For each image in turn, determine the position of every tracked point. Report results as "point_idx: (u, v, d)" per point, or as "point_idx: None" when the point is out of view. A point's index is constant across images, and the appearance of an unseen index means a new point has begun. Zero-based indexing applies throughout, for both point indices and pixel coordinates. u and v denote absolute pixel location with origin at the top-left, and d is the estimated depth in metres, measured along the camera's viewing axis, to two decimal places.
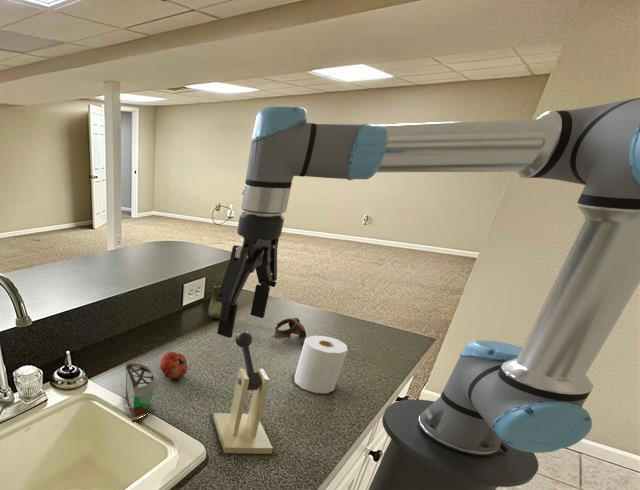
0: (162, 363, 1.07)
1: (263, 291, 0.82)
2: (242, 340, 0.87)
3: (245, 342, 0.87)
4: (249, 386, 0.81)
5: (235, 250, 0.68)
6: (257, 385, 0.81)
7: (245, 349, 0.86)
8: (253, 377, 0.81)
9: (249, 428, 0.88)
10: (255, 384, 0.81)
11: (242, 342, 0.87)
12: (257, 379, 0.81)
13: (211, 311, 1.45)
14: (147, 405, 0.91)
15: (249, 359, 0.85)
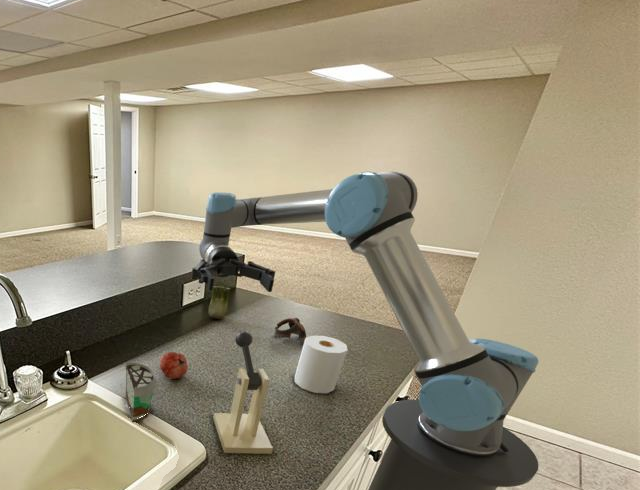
0: (162, 363, 1.07)
1: (262, 276, 0.96)
2: (242, 340, 0.87)
3: (245, 342, 0.87)
4: (249, 386, 0.81)
5: None
6: (257, 385, 0.81)
7: (245, 349, 0.86)
8: (253, 377, 0.81)
9: (249, 428, 0.88)
10: (255, 384, 0.81)
11: (242, 342, 0.87)
12: (257, 379, 0.81)
13: (211, 311, 1.45)
14: (147, 405, 0.91)
15: (249, 359, 0.85)
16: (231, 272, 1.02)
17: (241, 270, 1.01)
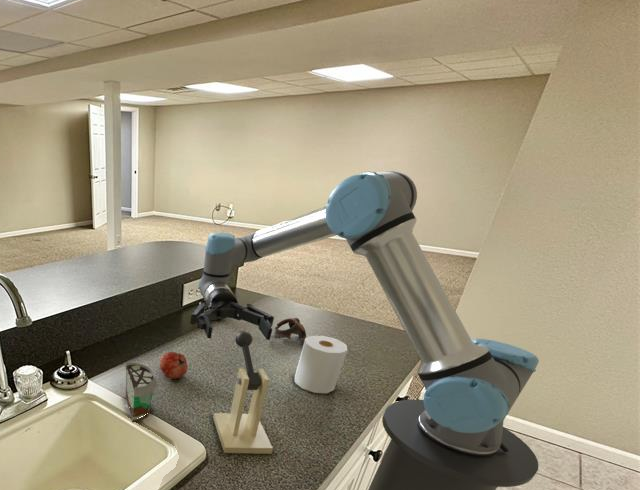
0: (162, 363, 1.07)
1: (261, 322, 0.96)
2: (242, 340, 0.87)
3: (245, 342, 0.87)
4: (249, 386, 0.81)
5: None
6: (257, 385, 0.81)
7: (245, 349, 0.86)
8: (253, 377, 0.81)
9: (249, 428, 0.88)
10: (255, 384, 0.81)
11: (242, 342, 0.87)
12: (257, 379, 0.81)
13: None
14: (147, 405, 0.91)
15: (249, 359, 0.85)
16: (230, 316, 1.02)
17: (240, 314, 1.02)
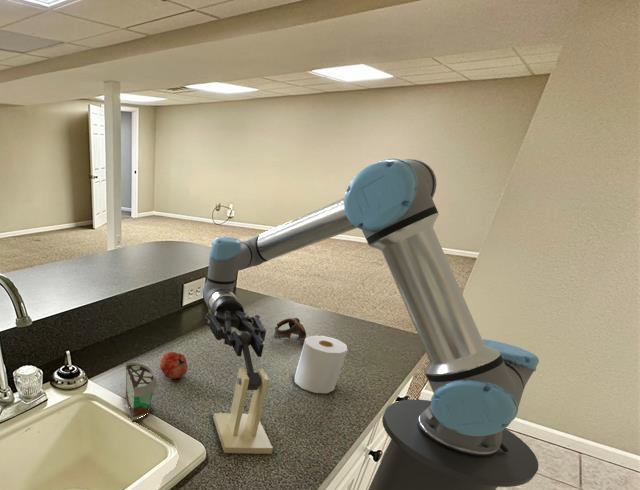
0: (162, 363, 1.07)
1: (252, 337, 0.88)
2: (242, 340, 0.87)
3: (245, 342, 0.87)
4: (249, 386, 0.81)
5: (205, 321, 0.98)
6: (257, 385, 0.81)
7: (245, 349, 0.86)
8: (253, 377, 0.81)
9: (249, 428, 0.88)
10: (255, 384, 0.81)
11: (242, 342, 0.87)
12: (257, 379, 0.81)
13: None
14: (147, 405, 0.91)
15: (249, 359, 0.85)
16: (236, 325, 0.96)
17: (240, 324, 0.95)
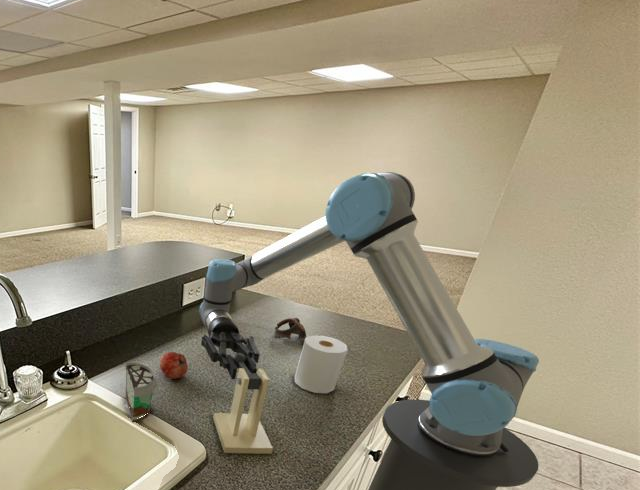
0: (162, 363, 1.07)
1: (246, 360, 0.92)
2: (236, 358, 0.91)
3: (240, 359, 0.90)
4: (250, 383, 0.81)
5: (202, 342, 1.01)
6: (257, 381, 0.81)
7: (241, 364, 0.89)
8: (252, 375, 0.82)
9: (249, 428, 0.88)
10: (255, 380, 0.80)
11: (237, 360, 0.90)
12: (256, 376, 0.81)
13: None
14: (147, 405, 0.91)
15: (246, 368, 0.87)
16: (231, 347, 1.00)
17: (235, 346, 0.99)
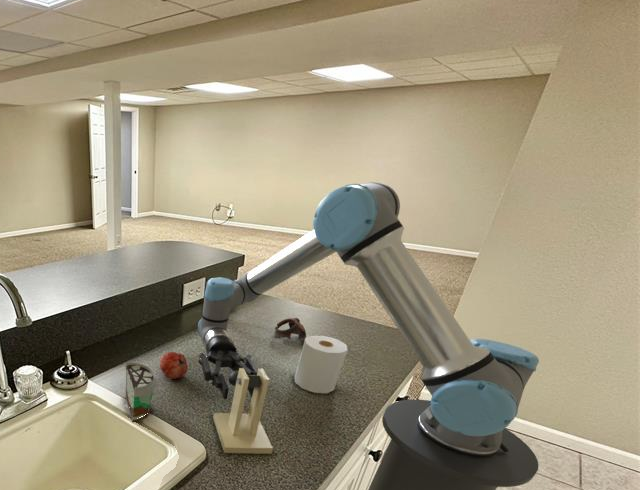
0: (162, 363, 1.07)
1: None
2: (235, 374, 0.92)
3: None
4: (250, 380, 0.81)
5: (199, 360, 1.04)
6: (257, 378, 0.81)
7: None
8: None
9: (249, 428, 0.88)
10: (255, 377, 0.81)
11: (235, 375, 0.92)
12: (256, 375, 0.82)
13: None
14: (147, 405, 0.91)
15: None
16: (229, 366, 1.02)
17: (234, 365, 1.01)
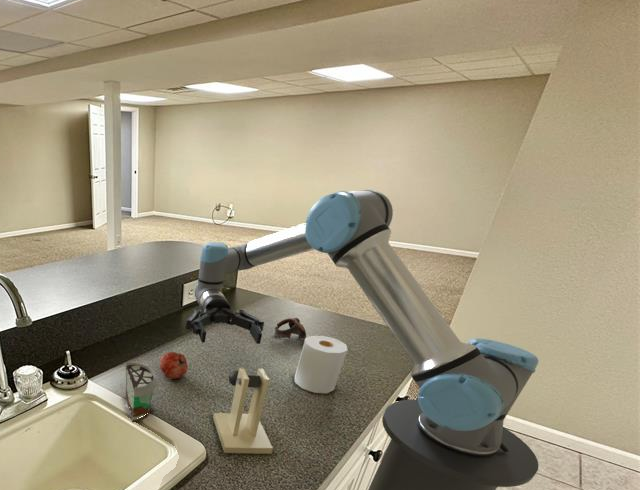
0: (162, 363, 1.07)
1: (252, 327, 1.03)
2: (235, 374, 0.92)
3: None
4: (250, 380, 0.81)
5: None
6: (257, 378, 0.81)
7: None
8: None
9: (249, 428, 0.88)
10: (255, 377, 0.81)
11: (235, 375, 0.92)
12: (256, 375, 0.82)
13: None
14: (147, 405, 0.91)
15: None
16: (223, 321, 1.09)
17: (232, 319, 1.08)
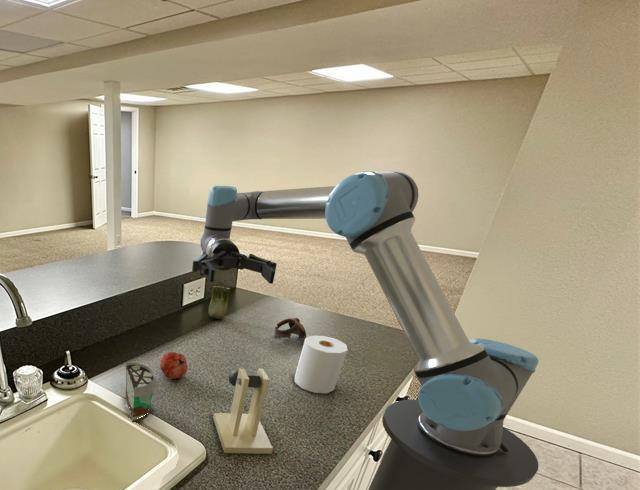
0: (162, 363, 1.07)
1: (263, 268, 0.95)
2: (235, 374, 0.92)
3: None
4: (250, 380, 0.81)
5: None
6: (257, 378, 0.81)
7: None
8: None
9: (249, 428, 0.88)
10: (255, 377, 0.81)
11: (235, 375, 0.92)
12: (256, 375, 0.82)
13: (211, 311, 1.45)
14: (147, 405, 0.91)
15: None
16: (232, 265, 1.01)
17: (242, 263, 1.01)
